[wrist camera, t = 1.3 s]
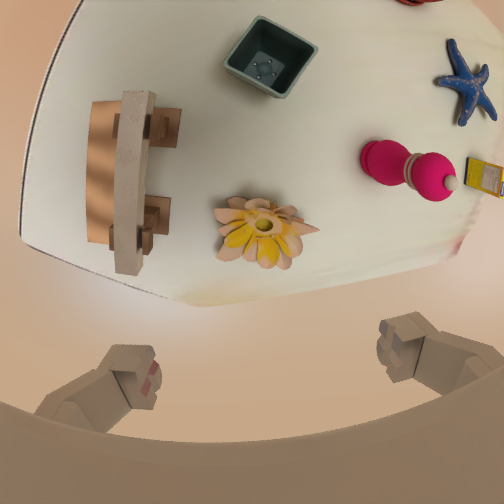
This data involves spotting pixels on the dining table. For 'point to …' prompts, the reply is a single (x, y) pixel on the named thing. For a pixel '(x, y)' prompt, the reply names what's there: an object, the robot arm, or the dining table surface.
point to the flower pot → (270, 57)
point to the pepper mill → (409, 169)
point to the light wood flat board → (101, 171)
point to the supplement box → (485, 177)
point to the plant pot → (417, 1)
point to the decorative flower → (261, 232)
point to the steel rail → (131, 179)
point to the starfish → (467, 85)
